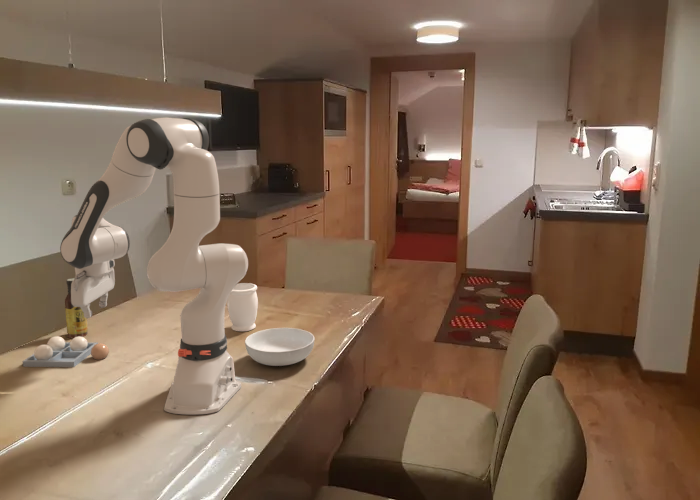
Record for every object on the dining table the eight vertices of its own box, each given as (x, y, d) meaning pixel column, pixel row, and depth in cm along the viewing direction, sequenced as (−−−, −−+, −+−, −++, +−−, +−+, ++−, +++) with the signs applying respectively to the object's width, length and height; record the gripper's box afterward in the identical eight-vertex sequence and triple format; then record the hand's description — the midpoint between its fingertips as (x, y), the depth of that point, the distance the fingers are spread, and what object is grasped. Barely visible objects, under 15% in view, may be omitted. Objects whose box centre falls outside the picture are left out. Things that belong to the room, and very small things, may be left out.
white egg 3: (83, 355, 174) (82, 339, 173) (67, 355, 175) (65, 339, 174) (91, 349, 179) (89, 334, 178) (75, 348, 179) (74, 333, 178)
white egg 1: (48, 364, 168) (46, 348, 167) (31, 364, 168) (29, 348, 167) (57, 357, 173) (55, 342, 172) (41, 357, 173) (39, 342, 172)
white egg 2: (60, 355, 175) (59, 339, 174) (44, 354, 175) (43, 339, 174) (69, 348, 180) (67, 333, 178) (53, 348, 180) (51, 333, 179)
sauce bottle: (80, 340, 188) (74, 282, 184) (63, 339, 189) (57, 281, 185) (92, 333, 194) (87, 277, 190) (76, 332, 196) (70, 276, 192)
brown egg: (105, 362, 170) (103, 347, 169) (88, 362, 170) (86, 346, 169) (112, 356, 175) (110, 340, 174) (96, 356, 175) (94, 340, 174)
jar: (242, 335, 193) (240, 292, 190) (222, 328, 199) (220, 287, 196) (265, 326, 201) (263, 285, 198) (244, 320, 207) (243, 281, 204)
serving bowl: (323, 350, 179) (323, 330, 178) (300, 378, 160) (300, 355, 158) (263, 344, 185) (262, 324, 184) (233, 370, 165) (232, 347, 164)
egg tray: (74, 368, 166) (73, 361, 166) (23, 368, 167) (22, 361, 166) (98, 349, 181) (98, 342, 180) (51, 348, 181) (51, 342, 181)
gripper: (84, 276, 157) (89, 324, 160) (117, 259, 177) (120, 301, 180) (62, 276, 157) (67, 323, 160) (97, 259, 177) (101, 301, 180)
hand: (96, 312), depth 170 cm, fingers open, 8 cm apart
